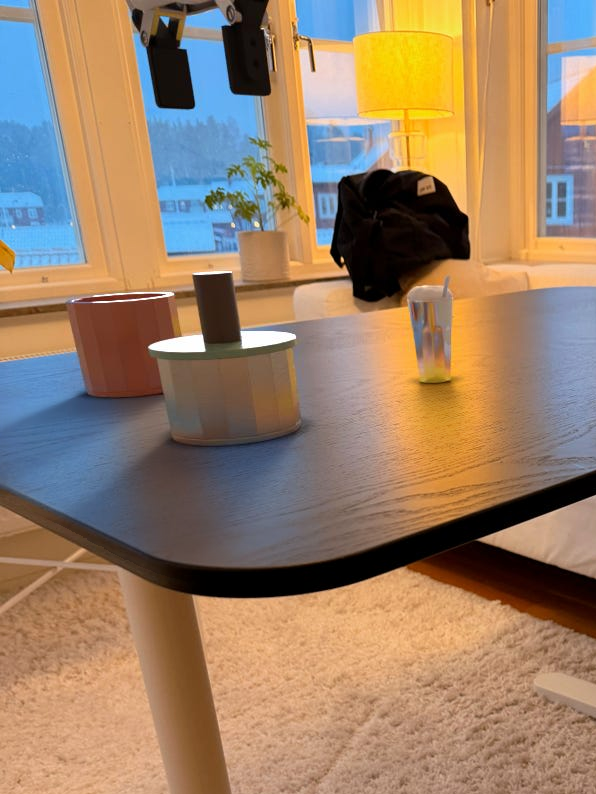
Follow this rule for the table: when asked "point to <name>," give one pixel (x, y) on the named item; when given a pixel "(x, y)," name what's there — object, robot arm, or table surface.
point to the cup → (122, 340)
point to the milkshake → (432, 330)
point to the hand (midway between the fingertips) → (212, 102)
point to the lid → (220, 327)
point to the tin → (231, 399)
